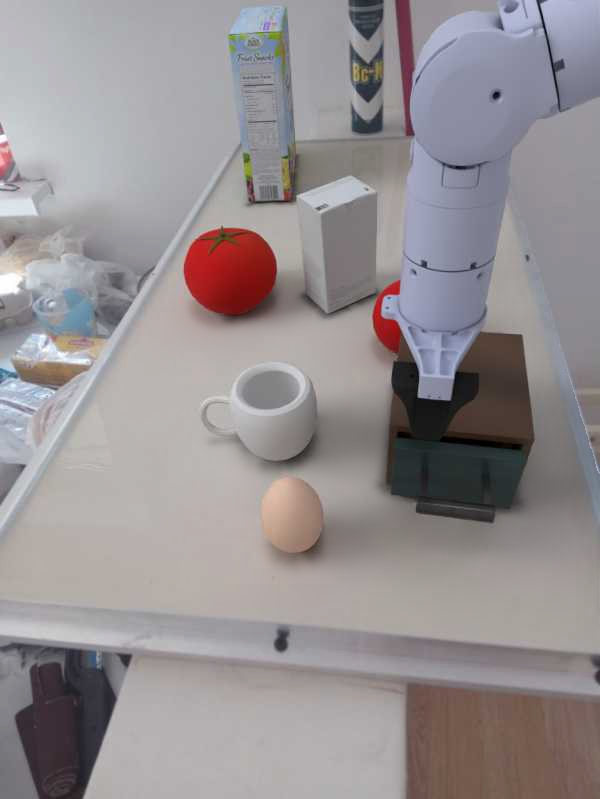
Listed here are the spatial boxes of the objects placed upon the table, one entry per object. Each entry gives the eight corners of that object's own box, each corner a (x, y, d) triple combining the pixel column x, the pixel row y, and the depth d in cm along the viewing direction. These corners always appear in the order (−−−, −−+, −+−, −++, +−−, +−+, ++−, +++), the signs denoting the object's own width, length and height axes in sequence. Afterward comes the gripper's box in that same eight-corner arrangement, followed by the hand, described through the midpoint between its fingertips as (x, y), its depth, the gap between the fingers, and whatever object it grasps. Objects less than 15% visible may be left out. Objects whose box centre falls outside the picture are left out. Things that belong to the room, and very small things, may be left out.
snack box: (296, 202, 96) (281, 29, 78) (247, 205, 97) (222, 35, 79) (299, 154, 111) (288, 1, 93) (257, 157, 112) (238, 6, 94)
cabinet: (513, 501, 49) (535, 439, 43) (385, 485, 52) (389, 424, 46) (505, 397, 59) (522, 334, 53) (397, 387, 61) (401, 326, 55)
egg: (337, 548, 47) (334, 492, 42) (284, 579, 46) (274, 525, 40) (306, 505, 51) (299, 449, 45) (256, 533, 49) (242, 477, 43)
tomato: (181, 298, 77) (163, 229, 70) (258, 270, 81) (248, 202, 73) (212, 339, 70) (194, 267, 63) (294, 307, 74) (287, 235, 66)
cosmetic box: (352, 276, 78) (351, 172, 67) (378, 295, 74) (381, 188, 64) (302, 296, 75) (293, 191, 65) (326, 317, 71) (320, 209, 61)
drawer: (512, 554, 45) (531, 507, 40) (386, 536, 47) (389, 489, 42) (502, 409, 56) (516, 359, 52) (401, 399, 58) (405, 351, 54)
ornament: (457, 335, 67) (468, 263, 60) (432, 381, 61) (441, 308, 54) (388, 318, 70) (392, 248, 63) (359, 359, 65) (359, 288, 58)
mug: (321, 411, 59) (317, 356, 54) (317, 473, 53) (312, 418, 48) (213, 411, 61) (199, 357, 55) (198, 472, 55) (180, 418, 49)
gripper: (394, 195, 40) (387, 340, 49) (370, 312, 30) (367, 465, 40) (495, 197, 38) (468, 346, 48) (505, 320, 29) (468, 477, 38)
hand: (428, 400), depth 44 cm, fingers open, 7 cm apart
